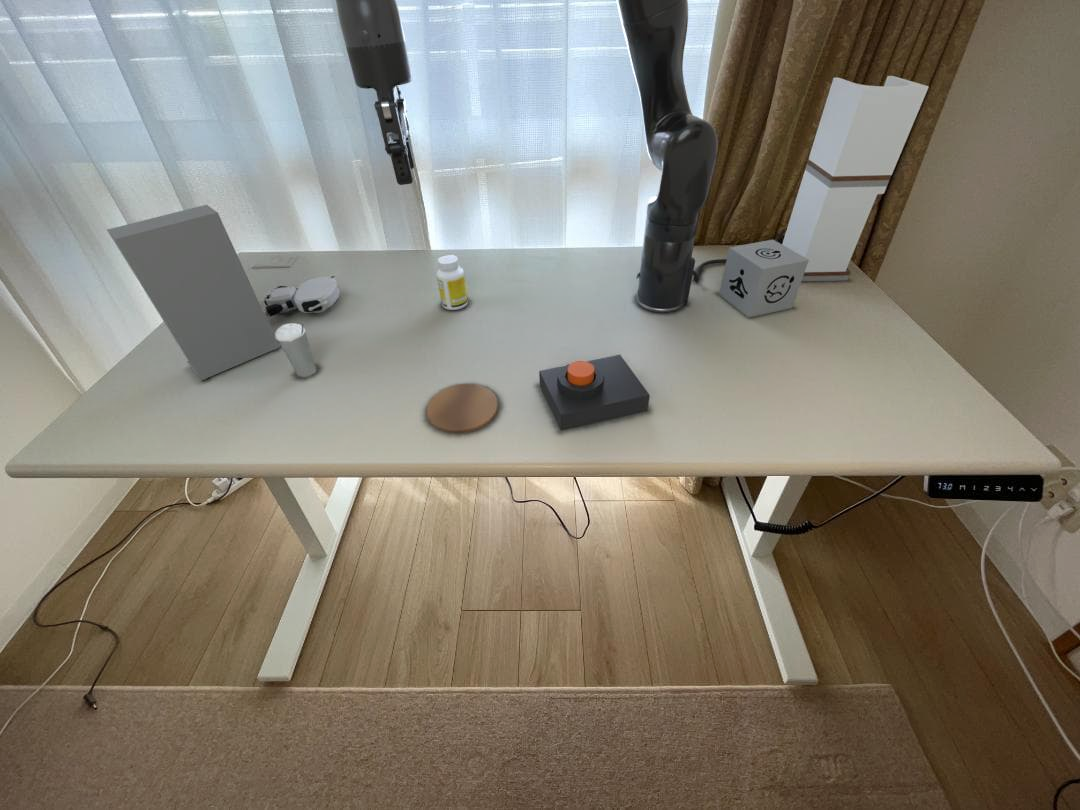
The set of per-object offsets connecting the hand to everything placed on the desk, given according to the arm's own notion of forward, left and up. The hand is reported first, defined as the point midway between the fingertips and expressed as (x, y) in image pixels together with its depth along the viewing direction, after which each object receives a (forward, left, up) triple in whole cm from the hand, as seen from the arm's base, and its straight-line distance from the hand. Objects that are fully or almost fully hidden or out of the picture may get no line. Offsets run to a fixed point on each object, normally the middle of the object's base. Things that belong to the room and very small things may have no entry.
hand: (406, 175), depth 73 cm
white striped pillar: (-83, -1, -29) cm, 88 cm away
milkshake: (+23, +3, -29) cm, 37 cm away
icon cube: (-63, +7, -29) cm, 70 cm away
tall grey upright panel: (+36, -6, -29) cm, 47 cm away
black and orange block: (-21, +25, -29) cm, 44 cm away
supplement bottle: (-5, -12, -29) cm, 32 cm away
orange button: (-19, +25, -24) cm, 40 cm away
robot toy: (+25, -21, -29) cm, 44 cm away
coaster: (-1, +21, -29) cm, 36 cm away
